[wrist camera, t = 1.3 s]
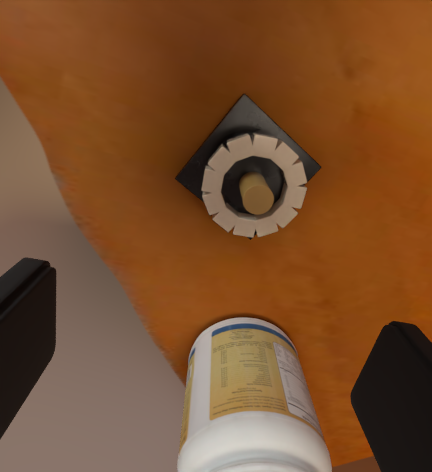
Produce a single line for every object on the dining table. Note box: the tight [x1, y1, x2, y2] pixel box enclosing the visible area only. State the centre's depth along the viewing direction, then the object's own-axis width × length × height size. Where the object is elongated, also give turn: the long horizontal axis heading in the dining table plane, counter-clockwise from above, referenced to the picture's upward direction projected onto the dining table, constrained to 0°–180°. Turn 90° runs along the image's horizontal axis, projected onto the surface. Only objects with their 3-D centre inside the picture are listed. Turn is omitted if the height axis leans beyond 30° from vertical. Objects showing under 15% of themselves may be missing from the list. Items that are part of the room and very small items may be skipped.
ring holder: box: [175, 94, 321, 240], centre depth 25 cm, size 9×9×9 cm
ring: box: [201, 133, 307, 238], centre depth 24 cm, size 7×7×1 cm
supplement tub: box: [177, 317, 332, 472], centre depth 30 cm, size 12×12×17 cm
